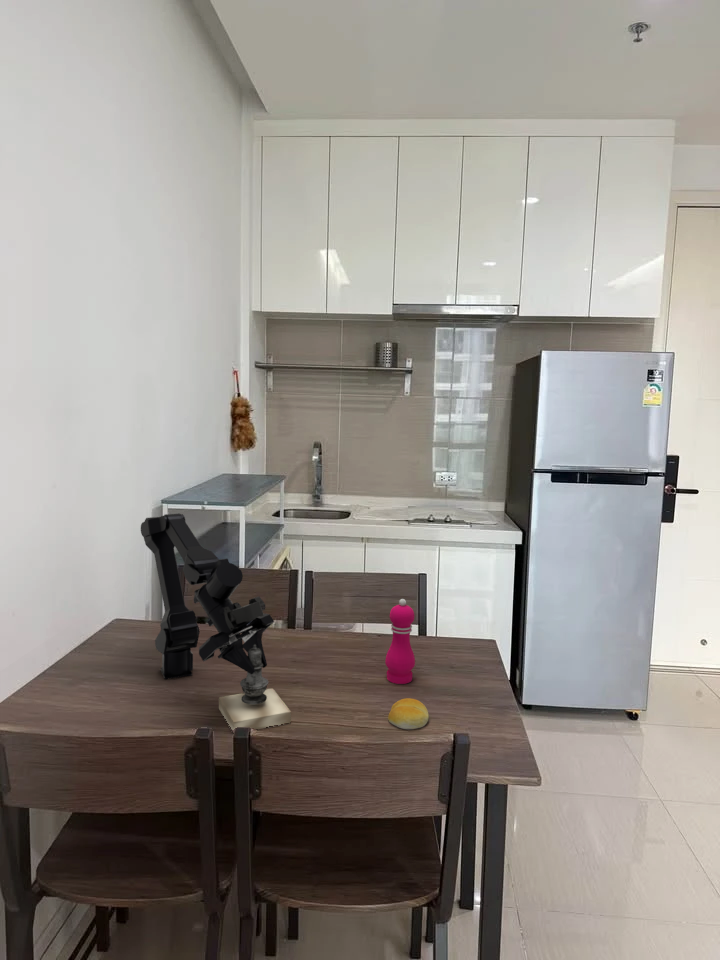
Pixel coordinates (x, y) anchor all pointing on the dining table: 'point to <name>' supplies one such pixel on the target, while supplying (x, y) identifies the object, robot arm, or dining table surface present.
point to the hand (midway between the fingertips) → (259, 669)
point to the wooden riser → (254, 711)
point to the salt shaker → (254, 680)
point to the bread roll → (408, 714)
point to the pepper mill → (400, 645)
